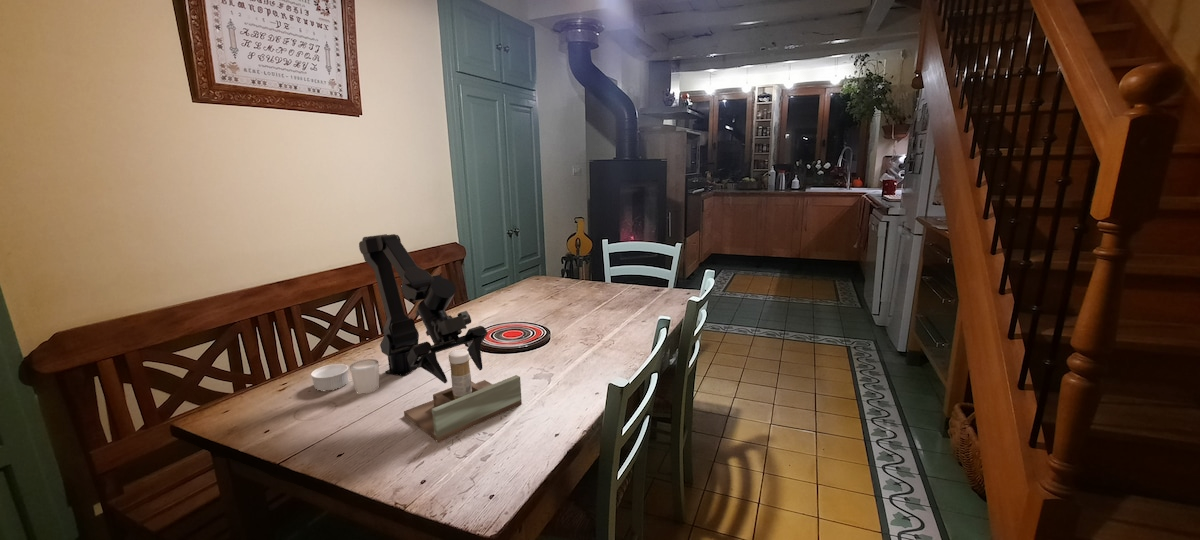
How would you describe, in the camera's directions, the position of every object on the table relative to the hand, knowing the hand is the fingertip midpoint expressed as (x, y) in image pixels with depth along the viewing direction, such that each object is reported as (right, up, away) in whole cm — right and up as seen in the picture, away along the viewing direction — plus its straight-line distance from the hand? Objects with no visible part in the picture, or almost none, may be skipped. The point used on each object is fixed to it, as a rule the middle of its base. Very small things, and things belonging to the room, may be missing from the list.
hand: (464, 375), depth 113 cm
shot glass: (-30, -7, +15) cm, 34 cm away
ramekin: (-40, -7, +17) cm, 44 cm away
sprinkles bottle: (-1, -8, +3) cm, 8 cm away
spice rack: (-1, -9, +3) cm, 9 cm away
